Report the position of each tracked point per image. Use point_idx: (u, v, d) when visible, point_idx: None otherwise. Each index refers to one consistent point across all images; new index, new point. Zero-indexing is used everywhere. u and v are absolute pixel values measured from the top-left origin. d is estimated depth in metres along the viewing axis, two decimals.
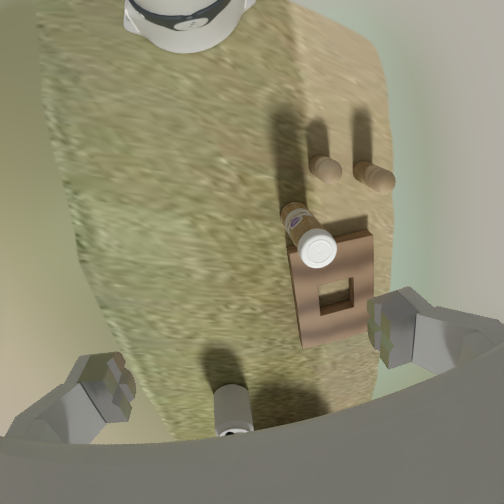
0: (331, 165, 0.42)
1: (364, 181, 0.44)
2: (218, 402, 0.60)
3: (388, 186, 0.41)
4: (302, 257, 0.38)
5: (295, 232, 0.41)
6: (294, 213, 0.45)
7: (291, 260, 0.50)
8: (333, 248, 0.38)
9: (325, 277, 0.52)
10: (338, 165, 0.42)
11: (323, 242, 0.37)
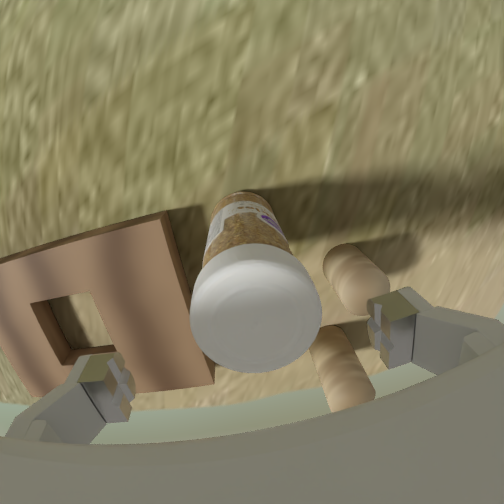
0: (379, 293, 0.20)
1: (333, 356, 0.23)
2: None
3: (344, 408, 0.20)
4: (235, 269, 0.10)
5: (264, 228, 0.14)
6: None
7: (143, 225, 0.20)
8: (267, 365, 0.11)
9: (111, 305, 0.22)
10: None
11: (293, 333, 0.11)
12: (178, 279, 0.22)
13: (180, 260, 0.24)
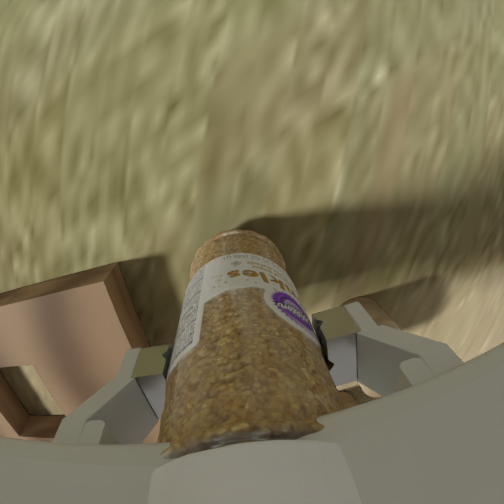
0: None
1: None
2: None
3: None
4: None
5: (283, 345, 0.07)
6: (295, 290, 0.11)
7: (83, 288, 0.13)
8: None
9: (59, 382, 0.15)
10: None
11: None
12: None
13: (141, 326, 0.17)
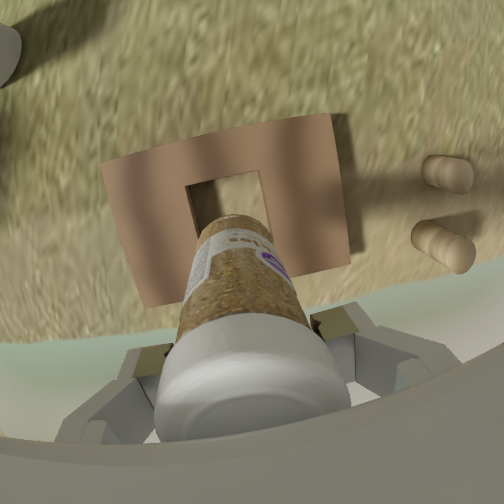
0: (468, 178, 0.25)
1: (440, 231, 0.28)
2: None
3: (458, 263, 0.25)
4: (224, 367, 0.06)
5: (267, 277, 0.10)
6: (280, 258, 0.14)
7: (316, 115, 0.25)
8: None
9: (278, 183, 0.27)
10: (467, 188, 0.26)
11: None
12: (337, 161, 0.27)
13: None
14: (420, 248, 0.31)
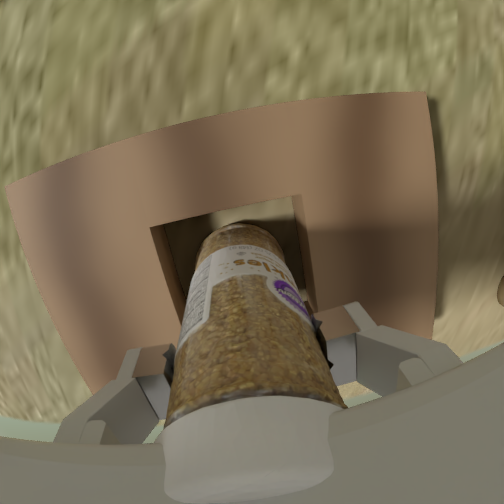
0: None
1: None
2: None
3: None
4: (232, 489, 0.03)
5: (283, 323, 0.08)
6: (294, 281, 0.12)
7: (405, 95, 0.12)
8: None
9: (334, 221, 0.14)
10: None
11: None
12: None
13: None
14: None
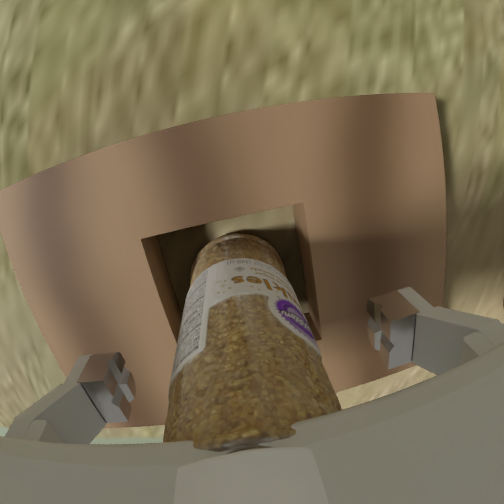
0: None
1: None
2: None
3: None
4: None
5: (288, 353, 0.07)
6: (296, 297, 0.11)
7: (413, 96, 0.11)
8: None
9: (338, 232, 0.13)
10: None
11: None
12: None
13: None
14: None
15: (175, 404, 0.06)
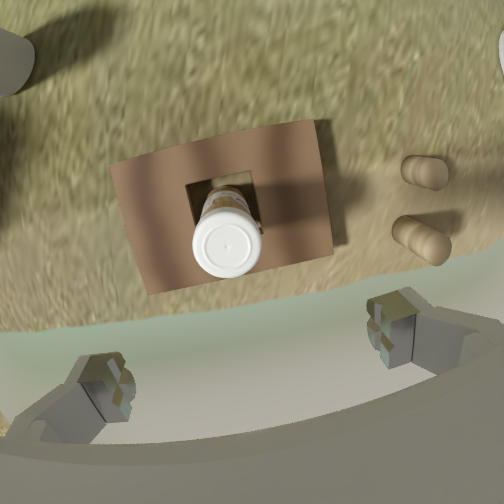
0: (443, 176, 0.29)
1: (419, 225, 0.32)
2: (12, 33, 0.20)
3: (434, 256, 0.29)
4: (217, 215, 0.20)
5: (236, 203, 0.24)
6: (246, 204, 0.29)
7: (301, 121, 0.29)
8: (232, 272, 0.21)
9: (267, 182, 0.30)
10: (442, 185, 0.30)
11: (246, 252, 0.21)
12: (320, 162, 0.30)
13: None
14: (400, 240, 0.34)
15: (203, 215, 0.24)
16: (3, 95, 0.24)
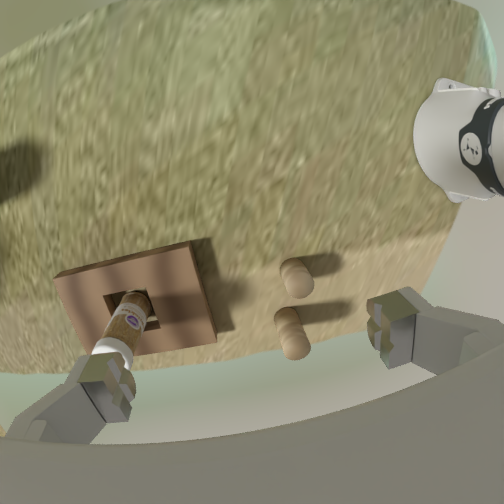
0: (307, 286, 0.39)
1: (289, 323, 0.41)
2: None
3: (291, 353, 0.39)
4: (100, 347, 0.30)
5: (122, 326, 0.34)
6: (140, 314, 0.39)
7: (179, 249, 0.38)
8: None
9: (158, 294, 0.40)
10: (307, 293, 0.39)
11: None
12: (197, 279, 0.40)
13: (197, 268, 0.42)
14: None
15: None
16: None
